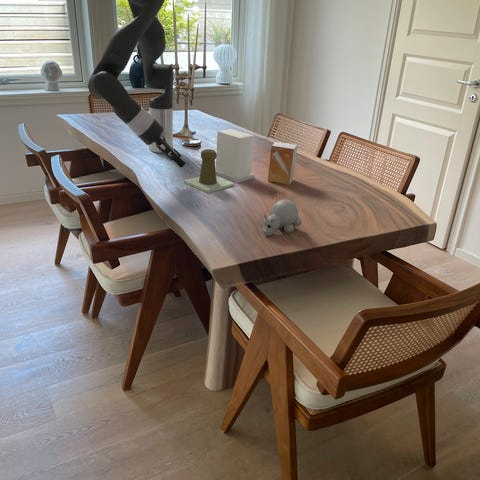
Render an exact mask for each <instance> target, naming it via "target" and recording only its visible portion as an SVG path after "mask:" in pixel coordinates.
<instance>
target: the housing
mask: <svg viewBox="0 0 480 480" xmlns="http://www.w3.org/2000/svg"><path fill="white" fill-rule="evenodd" d="M216 133H217V134H216V135H217V137H216V154H217V157H216V159H215V169H216V176H218V177H220V178H221V177H222V178H223V179H225V180H229V181H230V182H231V181H232V182H234V183H237V184H238V183H240V182H245V181H248V180H252V179H255V176H256V175H255V174H254V173H252V170H253V169H252V168H253V167H252V166H253V156H254V155H253V154H254V142H255V135H253V134H251V133H248V132H247V133H246V132H244V131H240V130H237V129H234V128H230V129H229V128H228V129H222V130H217V131H216Z"/></svg>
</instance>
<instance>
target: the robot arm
mask: <svg viewBox="0 0 480 480" xmlns="http://www.w3.org/2000/svg"><path fill="white" fill-rule="evenodd" d="M127 2H128V6H129V9H130V12H131V15H132V17H133V19H132V20H130V21H129V22H128V23H125V24H124V25H123V26H121V27H120V28H119V29H117V30H116V31H115V32H114V33H113V35H112V36H111V37H110V39H109V41H108V43H107V45H106V47H105V50H104V52H103V54H102V56H101V59H100V61H99V62H98V64H96V67H95V69H94V70H93V72H92V73H91V76H90V77H89V79H88V83H87V89H88V91H89V94H90V95H91V96H92V97H93V98H95V99H98V100H105V101H106V102H107V104H108V105H110V107H112V110H113V112H114V114H115V115H116V116H117V118H119V119H120V120H121V121H122V122H123V123H124V124H125V125H126V126H127V127H128V128H129V129H130V131H132V133H133V134H135V136H136V137H138V138H139V139H140V140H141V141H142V142H143V143H144V144H145V145H146V146H148V149H149V150H150V151H151V152H152V153H153V152H154V153H158V154H159V153H160V154H161V153H162V154H163V155H164V156H165V157H167V158H168V159H169V161H170V162H171V161H173V162H174V163H175V164H176V165H177V166H178V167H179V168H183V167H184V166H185V165H186V161H184V160H183V158H181V157H182V154H181V153H180V152H179V151H178V150H177V149H176V148H175V147H174V133H173V132H174V111H173V109H174V98H173V94H174V91H173V90H174V77H175V76H174V68H173V66H172V65H171V64H167V63H156V62H157V61H158V60H159V59H160V58H161V56H162V55H163V54H164V52H165V50H166V47H167V42H166V32H165V30H164V26H163V25H162V23H161V21H160V20H159V19H158V16H157V15H158V14H159V13H160V10H161V9H162V7H163V5H164V3H165V0H127ZM137 45H138V47H139V50H140V55H141V60H142V69H143V75H144V76H143V77H144V82H145V85H146V87H147V88H148V89H151V90H164V92H163V93H162V94H160V95H158V96H155V97H153V98H150V99H149V100H148V101H149V102H148V111H147V110H146V109H144V108H143V107H142V106H141V105H140V104H139V103H138V102H137V101H136V100H135V98H133V97H132V96H131V95H130V94H129V92H128V91H127V89H126V88H125V86H124V85H123V84H122V82H120V80H119V79H118V78H119V77H120V74H121V73H123V71H124V70H125V69H126V67H127V65H128V63H129V61H130V60H131V57H132V55H133V53H134V51H135V49H136V47H137Z"/></svg>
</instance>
